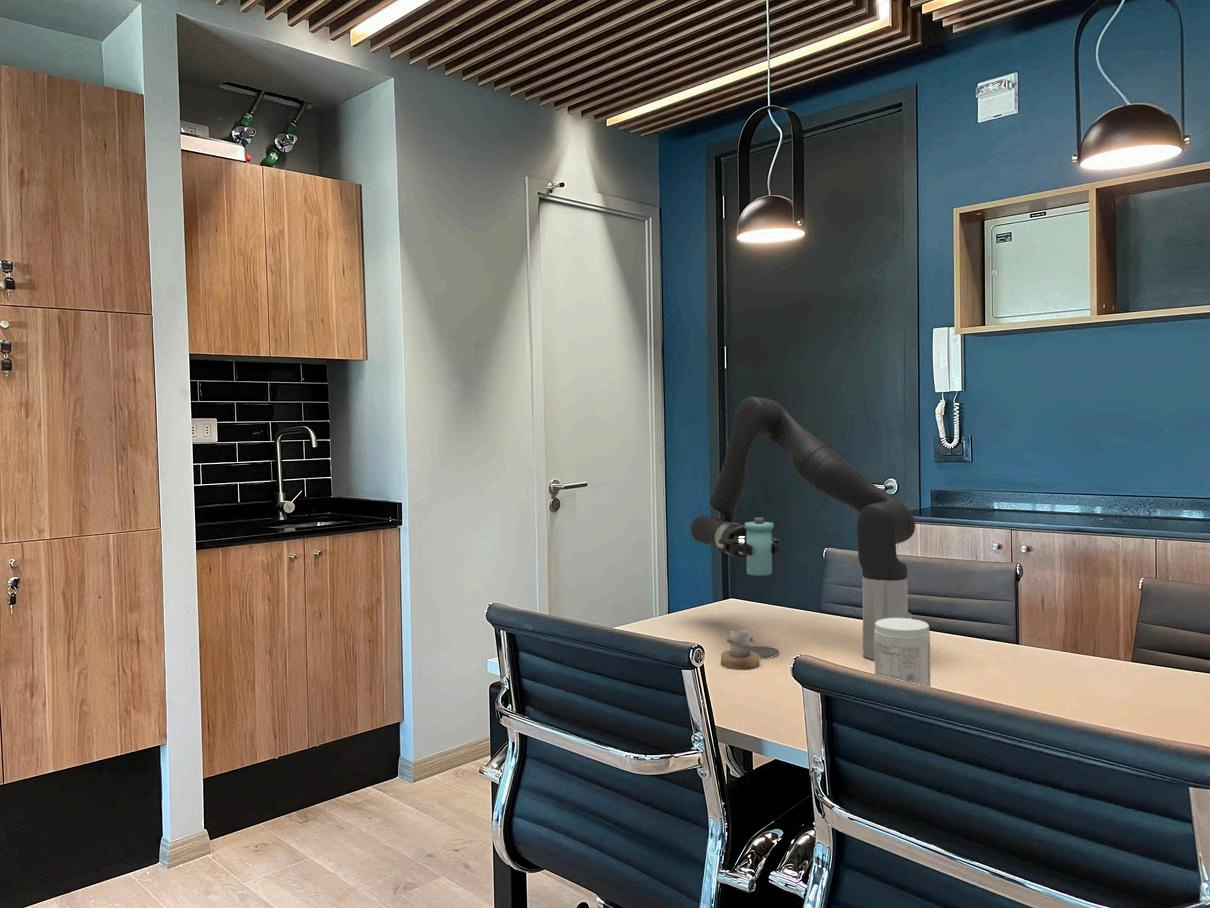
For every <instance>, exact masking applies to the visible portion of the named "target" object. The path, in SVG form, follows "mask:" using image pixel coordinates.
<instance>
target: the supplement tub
mask: <svg viewBox="0 0 1210 908" xmlns="http://www.w3.org/2000/svg"><path fill="white" fill-rule="evenodd" d="M874 631H875V633H874V646H875V660H874V675H875V674H877V675H881V676H885V677H890V678H894V679H899V680H903V681H906V682H911V683H916V684H920V685H924V686H929V687H930V688H931V632H930V625H929V623H928V622H926V621H923V620H920V619H914V618H912V619H908V618H886V619H881V620H878V621H876V622H875V630H874Z"/></svg>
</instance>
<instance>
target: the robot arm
mask: <svg viewBox="0 0 1210 908" xmlns="http://www.w3.org/2000/svg"><path fill="white" fill-rule="evenodd" d="M791 415H792V414H790V413H789V412H788V411H787V410H786V409H785V408H784V407H783V406H782V405H781V404H780V403H778V402H777V401H776V400H772V399H769V398H765V397H758V396H749V397H746V398H744V399H743V400H742V401H741V402H740V403H739V405H738V407H737V409H736V412H735V414H734V419H733V423H732V428H731V432H730V435H729V441H728V445H727V449H726V452H725V458H724V461H723V464H722V466H721V467H722V468H721V470H720V473H719V475H718V479H717V481H716V482H715V485H714V488H713V490H712V493H711V495H710V498H709V505H710V506H711V507H712V508H713V509H714V510H715V511H718V512H719V513H721V514H722V517H721V518H719V517H714V516H712V515H709V514H704V513H703V514H699V515H697V516H696V517H695V518H694V519H693V520H692V522H691V524H690V534H691V536H692V539H694V540H695V541H696V542H699V543H703V544H706V545H709V546H713V547H714V548H716V549H718V551H719V552H723V553H725V554H726V555H727V554H728V555H730V556H732V557H735V558H737V559H747V555H748V556H751V555H752V545H749V544H747V529H746V528H745V524H744V525H743V524H740V523H737V522H735V519H736V513H737V509H738V506H739V503H740V501H741V498H742V496H743V494H744V492H745V489H746V485H747V479H748V458H749V457H748V456H749V452H750V448H751V446H752V444H753V442H754V439H755V438H756V436H757V437H758V436H759V437H763V438H767V439H768V440H769V441H771V442H772V443H774V444H775V445H777V446H779V448H781V449H782V450H783V451H784V452H785V453H786V455H788V458H789V460H790V463H791V465H792V466H793V469H794V470H795V471H796V473H797V474H798V475H799V476H800V477H801V478H802V479H803V480H805V481H806V482H807V483H808V484H809V485H810V486H812V488H814V489H815V490H817V491H818V492H819V493H822V494H823V495H825V496H827V497H830V498H831V499H834V500H836V501H838V502H840V503H843V504H844V505H847V506H849V507H850V508H852V509H854V510H855V511H857V512H858V513H859V515H858V517H857V520H856V521H857V523H856V538H857V539H856V540H857V557H858V561H859V562H858V563H859V565H860V567H861V571H862V572H861V573H862V655H863V657H864V658H866V657H867V659H870V660H873V661H875V646H874V633H875V631H874V630H875V622H876V621H878V620H881V619H886V618H908V619H913V618H912V613H911V612H909V611H908V567H907V566H908V565H906V563H905V562H902V561H901V560H900V559H899V558H898V556H897V544H901V543H905V542H906V541H908V540H909V539H911V538H912V537H913V536H914V533H915V529H916V522H915V518H914V515H913V514H912V512H911V510H910V509H909V508H908V507H907V506H906V505H905V504H904V503H902V502H901V501H900V500H898V499H896V498H895V497H893V496H892V495H890V494H888V493H886V492H885V491H884V490H882V489H881V488H879V487H878V486H876V485H875V484H873V483H872V482H871V481H870V480H869V479H867V478H866V477H865V476H864V475H863V474H862V473H860V472H859V471H858V470H857V469H855V468H854V467H853V466H852V465H850V464H849V463H848V462H847V461H846V460H844V459H843V458H842V457H841V456H840V455H839V454H838V453H837V452H835V451H834V450H833V449H832V448H831V447H829V446H828V445H826V444H825V443H824V442H823V441H822V440H820V439H819V438H817V437H816V436H815V435H814V434H812V433H811V432H809V431H808V430H807V429H805V428H804V427H803V426H802V425H800V423H798V422H797V420H796V419H795V418H794V417H792V416H791ZM780 543H781V541H780V539H778V538H777V537H775V536H772V555H778V554H779V553H780V551H781V550H780Z"/></svg>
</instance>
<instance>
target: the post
mask: <svg viewBox="0 0 1210 908" xmlns="http://www.w3.org/2000/svg"><path fill="white" fill-rule="evenodd" d="M729 633H730V636H729V637H728V638H727V637H726V643H728V644H729V646H730V650H726V651H723V652H721V654H720V665H721V664H722V665H723V666H722V665H721V666H722V667H724V666H725V667H724V668H726V667H727V668H726V669H730V668H733V669H732V670H740V669H744V670H752V669H751V668H753V669H756V668H755V667H757V668H759V666H760V658H759V654H758V653H756V652H752V651H750V647H751V646H750V645H751V644H750V643H751V642H754V637H752V636H750V633H751V632H750V630H748V629H744V628H743V629H742V628H737V629H736V628H735V629H732V630H730V631H729Z"/></svg>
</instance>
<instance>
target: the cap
mask: <svg viewBox="0 0 1210 908" xmlns="http://www.w3.org/2000/svg"><path fill="white" fill-rule="evenodd" d="M744 526H745V528H746V529H747V544H749V545H752V555H751V556H748V555H747V557H746V574H747V575H750V576H762V577H763V576H769V575H772V573H773V562H772V561H773V559H772V557H773V556H772V555H773V554H772V537H773V536H772V535H773V534H772V530H773V529H774V522H770V521H765V518H764V517H760V516H759V517H757V516H756V517H754V520H753V521H747V522H744Z"/></svg>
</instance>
